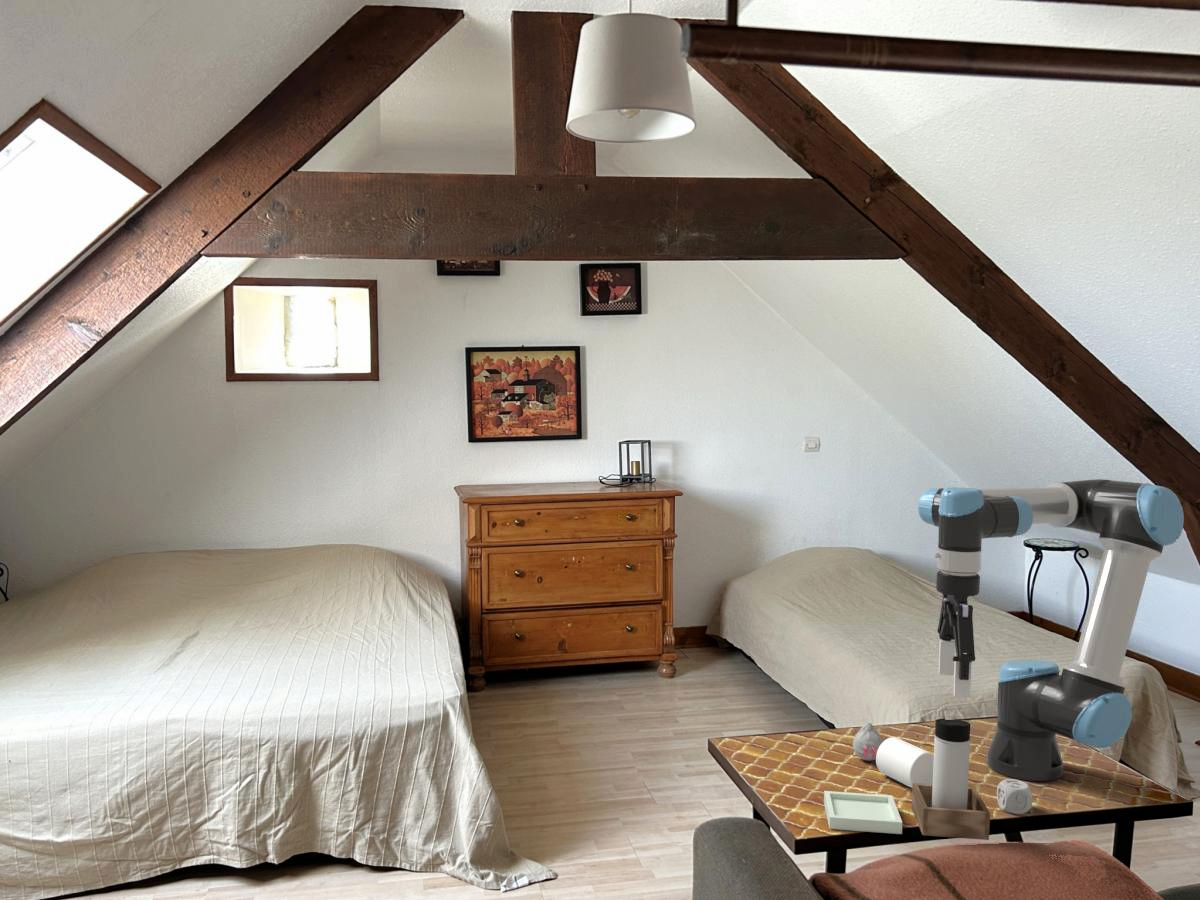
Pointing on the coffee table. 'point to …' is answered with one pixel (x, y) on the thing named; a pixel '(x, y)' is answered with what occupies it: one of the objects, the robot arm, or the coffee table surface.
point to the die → (1014, 796)
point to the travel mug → (951, 764)
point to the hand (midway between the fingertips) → (953, 685)
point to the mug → (905, 762)
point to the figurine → (867, 742)
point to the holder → (950, 815)
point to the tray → (862, 812)
